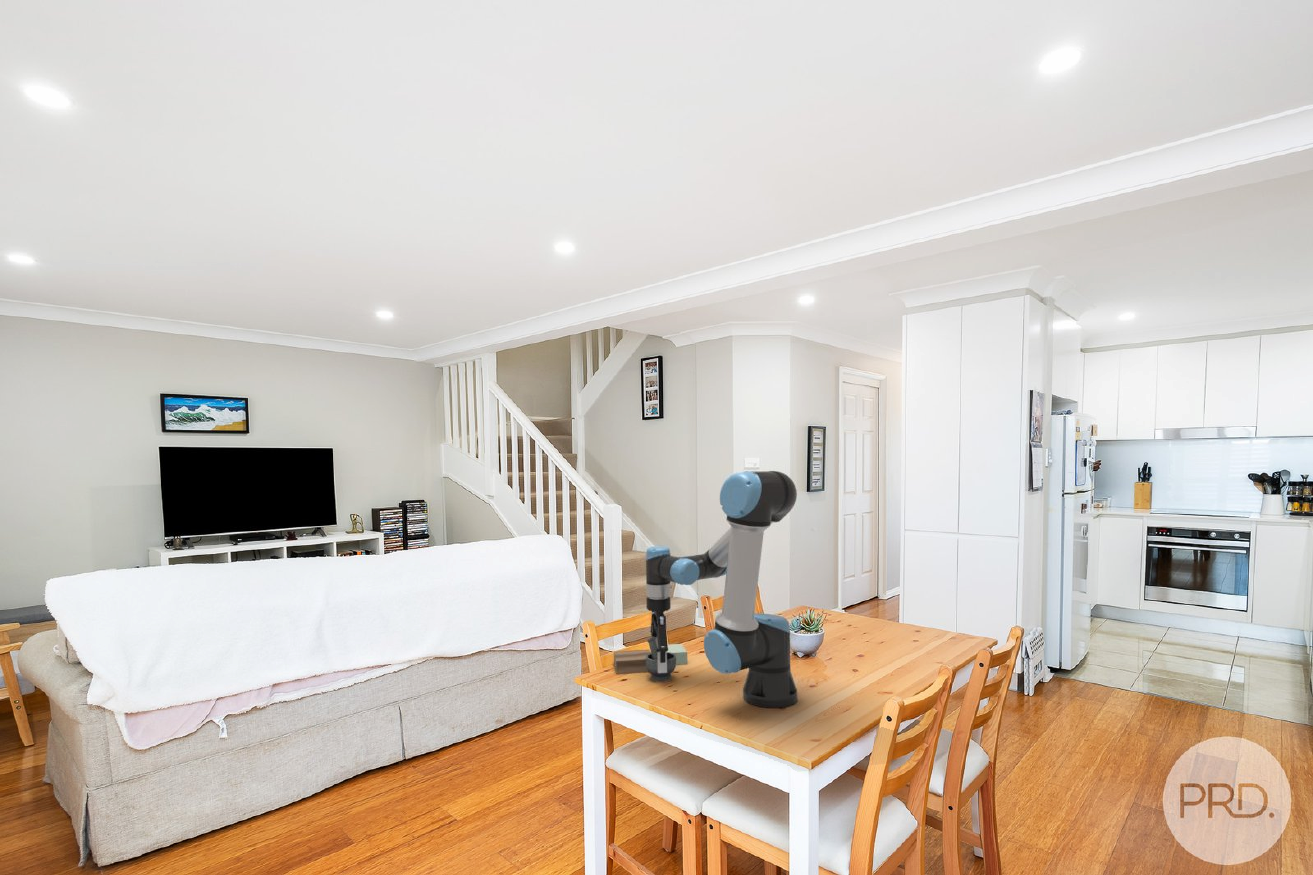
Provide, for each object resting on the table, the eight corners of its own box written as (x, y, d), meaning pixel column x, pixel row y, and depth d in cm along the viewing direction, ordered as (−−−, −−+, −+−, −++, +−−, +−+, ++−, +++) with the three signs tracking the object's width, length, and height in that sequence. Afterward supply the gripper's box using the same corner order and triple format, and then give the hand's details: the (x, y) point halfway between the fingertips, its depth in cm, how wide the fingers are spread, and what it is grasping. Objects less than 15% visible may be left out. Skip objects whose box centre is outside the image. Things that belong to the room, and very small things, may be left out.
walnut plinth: (653, 671, 206) (653, 659, 206) (616, 674, 204) (616, 661, 205) (649, 661, 217) (649, 649, 217) (613, 663, 215) (613, 651, 215)
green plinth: (687, 664, 213) (687, 652, 213) (657, 666, 212) (657, 653, 212) (681, 655, 223) (681, 643, 223) (653, 657, 222) (653, 645, 222)
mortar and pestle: (683, 679, 198) (682, 640, 199) (658, 686, 193) (657, 645, 193) (661, 670, 207) (660, 633, 208) (637, 676, 202) (636, 638, 202)
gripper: (677, 606, 189) (677, 678, 189) (664, 587, 214) (664, 651, 213) (651, 607, 188) (652, 680, 187) (641, 588, 212) (642, 652, 212)
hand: (659, 665), depth 200 cm, fingers open, 13 cm apart
